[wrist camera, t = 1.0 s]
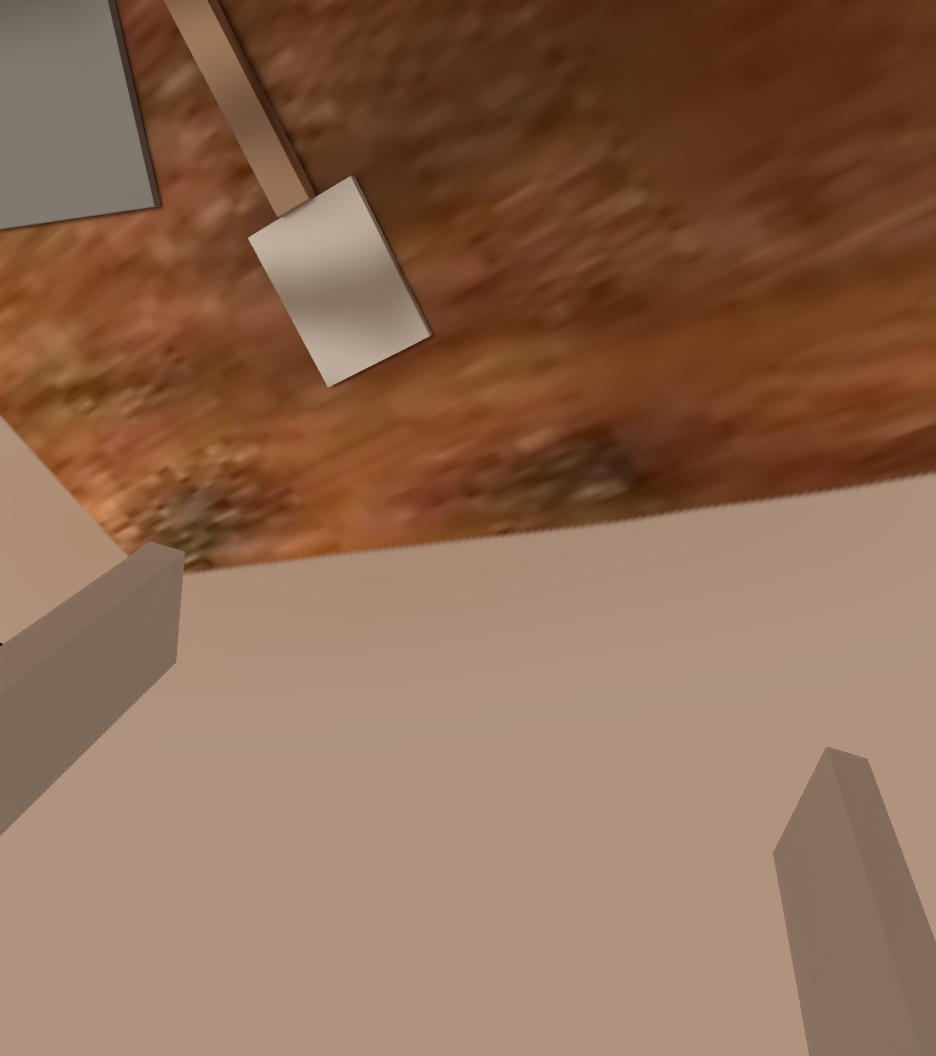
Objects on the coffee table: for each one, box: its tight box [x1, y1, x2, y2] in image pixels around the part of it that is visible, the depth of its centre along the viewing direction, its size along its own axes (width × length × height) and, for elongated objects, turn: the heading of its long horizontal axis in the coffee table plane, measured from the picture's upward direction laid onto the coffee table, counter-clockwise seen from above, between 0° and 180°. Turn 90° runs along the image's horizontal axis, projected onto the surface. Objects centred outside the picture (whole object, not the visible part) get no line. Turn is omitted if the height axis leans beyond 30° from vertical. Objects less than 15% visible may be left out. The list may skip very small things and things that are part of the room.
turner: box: [164, 0, 432, 387], centre depth 39 cm, size 18×6×1 cm, turn 26°
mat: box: [0, 0, 161, 230], centre depth 39 cm, size 16×12×1 cm
